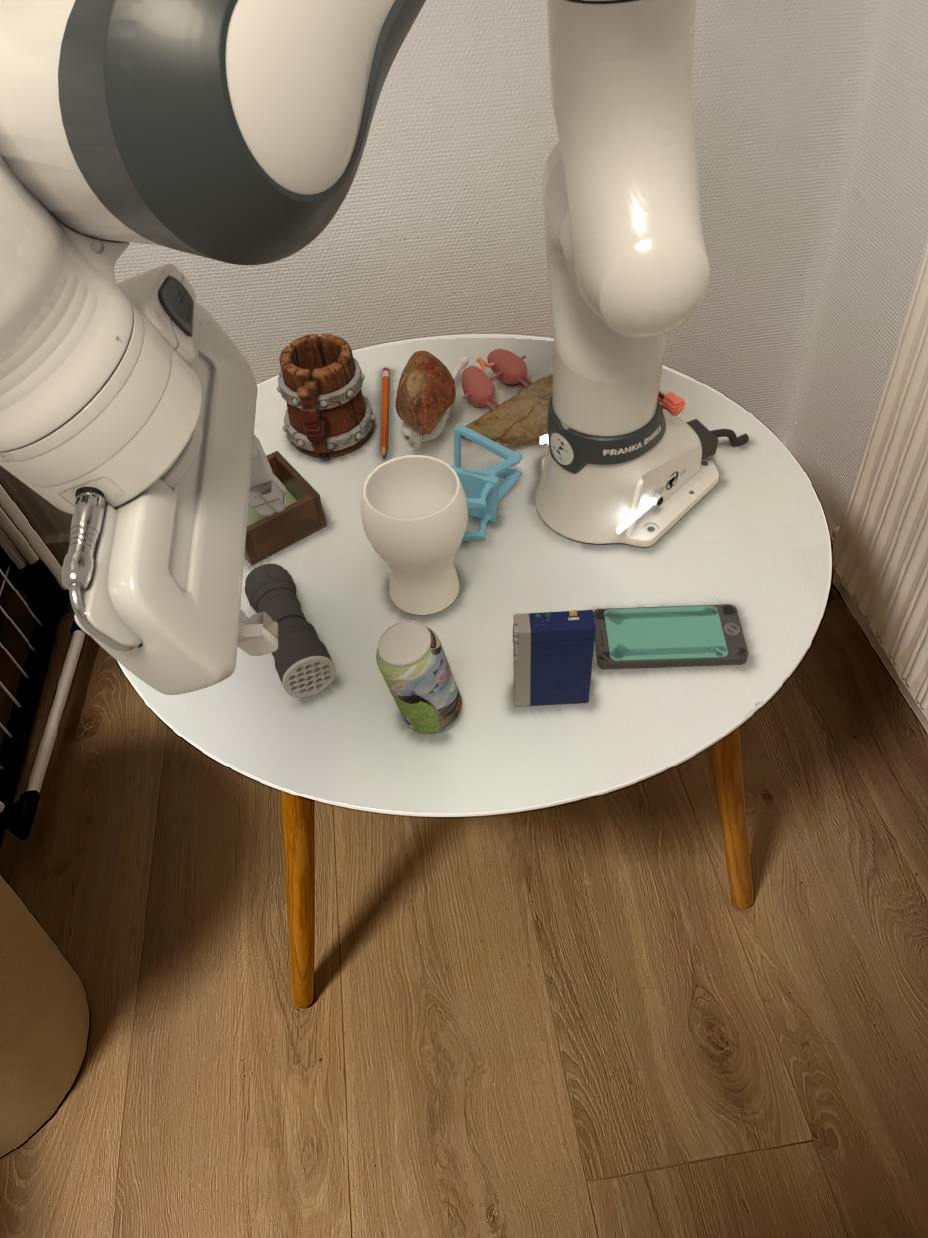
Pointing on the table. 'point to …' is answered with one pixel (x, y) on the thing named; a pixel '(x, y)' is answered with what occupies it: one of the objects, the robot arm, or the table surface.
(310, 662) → the flashlight
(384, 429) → the pencil
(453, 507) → the cup
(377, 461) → the table surface
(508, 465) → the chair
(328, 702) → the table surface
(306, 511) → the can holder
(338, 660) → the table surface
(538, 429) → the fossil
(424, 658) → the beverage can
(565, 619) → the blue rectangular block
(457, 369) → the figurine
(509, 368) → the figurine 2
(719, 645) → the smartphone
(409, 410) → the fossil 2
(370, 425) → the mug
